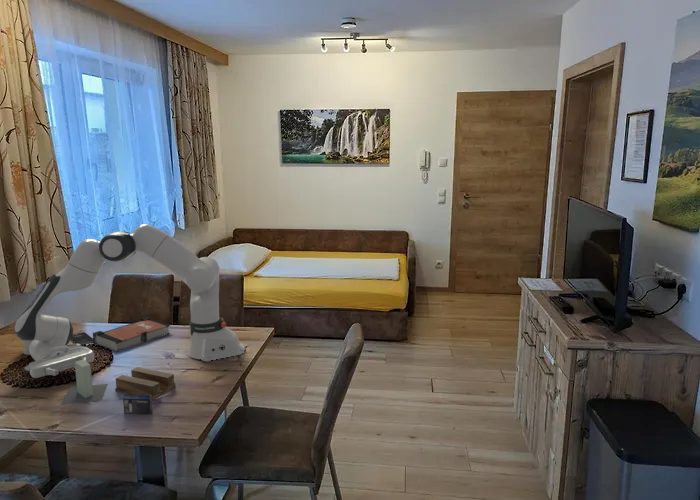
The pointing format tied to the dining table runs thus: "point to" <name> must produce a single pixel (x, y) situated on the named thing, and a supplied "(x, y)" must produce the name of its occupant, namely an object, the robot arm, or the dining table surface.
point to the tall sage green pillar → (83, 378)
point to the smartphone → (81, 338)
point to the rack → (145, 382)
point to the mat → (75, 397)
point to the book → (130, 334)
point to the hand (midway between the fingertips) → (71, 368)
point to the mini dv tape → (137, 403)
